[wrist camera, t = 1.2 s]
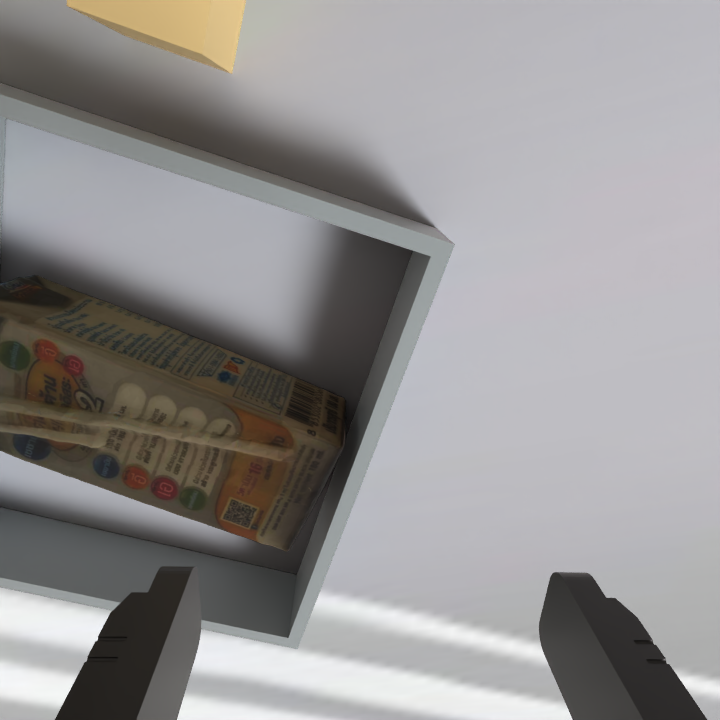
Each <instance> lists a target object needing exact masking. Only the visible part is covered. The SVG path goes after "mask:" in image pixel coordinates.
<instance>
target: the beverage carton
mask: <svg viewBox="0 0 720 720" xmlns="http://www.w3.org/2000/svg"><path fill="white" fill-rule="evenodd" d="M345 420H346V405H345V399H344V398H342V397H340V396H337V395H334V394H332V393H330V392H328V391H326V390H324V389H321V388H319V387H317V386H314V385H312V384H310V383H307V382H305V381H303V380H300V379H298V378H296V377H293V376H291V375H288V374H286V373H283V372H281V371H278V370H276V369H273V368H271V367H268V366H266V365H263V364H261V363H259V362H256V361H253V360H251V359H248V358H246V357H243V356H240V355H238V354H236V353H233V352H231V351H228V350H226V349H223V348H221V347H219V346H216V345H214V344H211V343H208V342H206V341H203V340H200V339H198V338H195V337H193V336H190V335H188V334H185V333H183V332H181V331H178V330H176V329H173V328H170V327H168V326H165V325H163V324H161V323H158V322H156V321H153V320H151V319H148V318H146V317H143V316H141V315H138V314H136V313H133V312H131V311H128V310H126V309H123V308H121V307H118V306H116V305H113V304H110V303H108V302H105V301H103V300H100V299H97V298H94V297H91V296H88V295H85V294H83V293H80V292H77V291H75V290H72V289H70V288H67V287H65V286H62V285H60V284H57V283H54V282H52V281H49V280H47V279H45V278H42V277H40V276H38V275H33V276H29V277H25V278H19V277H18V278H16V279H14V280H12V281H8V282H4V283H2V284H0V451H3V452H5V453H7V454H10V455H12V456H14V457H17V458H19V459H22V460H24V461H27V462H30V463H33V464H36V465H39V466H42V467H45V468H48V469H50V470H53V471H56V472H59V473H61V474H63V475H66V476H69V477H73V478H76V479H79V480H81V481H84V482H87V483H90V484H92V485H95V486H98V487H101V488H104V489H106V490H109V491H112V492H114V493H117V494H120V495H123V496H126V497H129V498H131V499H134V500H137V501H140V502H142V503H145V504H148V505H152V506H155V507H157V508H160V509H163V510H166V511H169V512H171V513H174V514H177V515H180V516H183V517H186V518H189V519H192V520H195V521H198V522H201V523H204V524H207V525H210V526H212V527H215V528H218V529H221V530H224V531H227V532H230V533H233V534H236V535H239V536H242V537H245V538H248V539H251V540H254V541H256V542H259V543H261V544H265V545H270V546H273V547H276V548H279V549H281V550H283V551H286V552H287V551H289V550H290V548H291V546H292V545H293V543H294V541H295V540H296V538H297V536H298V534H299V532H300V531H301V529H302V527H303V525H304V524H305V522H306V520H307V518H308V517H309V515H310V513H311V511H312V509H313V507H314V505H315V504H316V502H317V500H318V498H319V496H320V494H321V492H322V490H323V488H324V486H325V484H326V482H327V480H328V478H329V476H330V474H331V472H332V470H333V468H334V466H335V464H336V462H337V460H338V458H339V456H340V454H341V452H342V450H343V448H344V445H345V430H346V428H345Z"/></svg>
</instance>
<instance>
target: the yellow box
mask: <svg viewBox="0 0 720 720" xmlns="http://www.w3.org/2000/svg"><path fill="white" fill-rule="evenodd" d="M245 3H246V0H67V6H68V7H70V8H72V9H74V10H76V11H78V12H80V13H82V14H84V15H86V16H88V17H90V18H91V19H93V20H95V21H97V22H99V23H101V24H103V25H105V26H107V27H109V28H111V29H113V30H115V31H117V32H119V33H120V34H122V35H124V36H127V37H130V38H133V39H135V40H138V41H141V42H144V43H147V44H149V45H152V46H155V47H158V48H161V49H164V50H166V51H169V52H172V53H175V54H178V55H180V56H183V57H186V58H189V59H192V60H194V61H197V62H200V63H203V64H206V65H208V66H211V67H214V68H217V69H220V70H223V71H225V72H228V73H231V74H232V71H233V66H234V61H235V55H236V50H237V45H238V40H239V34H240V29H241V24H242V19H243V13H244V8H245Z"/></svg>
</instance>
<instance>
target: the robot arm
mask: <svg viewBox="0 0 720 720" xmlns="http://www.w3.org/2000/svg"><path fill="white" fill-rule="evenodd" d="M200 633H201V605H200V591H199V577H198V569H197V567H182V566H162V567H160V568H159V570H158V571H157V573H156V576H155V578H154V580H153V582H152V584H151V587H150V589H149V591H148V592H131V593H130V594H129V595H128V596H127V597H126V598H125V599H124V600H123V601H122V602H121V603H120V604H119V605H118V606H117V607H116V608H115V609H114V610H113V611H112V612H111V613H110V615H109V617H108V619H107V621H106V623H105V624H104V626H103V628H102V630H101V632H100V634H99V636H98V641H96V642H95V644H94V646H93V648H92V649H91V651H90V653H89V655H88V659H87V662H85V663H84V665H83V667H82V669H81V671H80V672H79V674H78V676H77V678H76V680H75V682H74V684H73V686H72V688H71V690H70V692H69V694H68V695H67V697H66V699H65V701H64V703H63V705H62V707H61V709H60V711H59V713H58V715H57V717H56V719H55V720H177V717H178V714H179V710H180V707H181V704H182V700H183V697H184V693H185V690H186V687H187V683H188V680H189V676H190V673H191V670H192V666H193V663H194V660H195V656H196V653H197V649H198V645H199V640H200ZM539 635H540V641H541V646H542V649H543V652H544V655H545V657H546V659H547V661H548V664H549V666H550V668H551V671H552V673H553V675H554V677H555V680H556V682H557V684H558V687H559V689H560V691H561V693H562V696H563V698H564V700H565V703H566V705H567V707H568V709H569V712H570V714H571V716H572V719H573V720H707V719H706V717H705V716H704V714H703V713H702V711H701V710H700V708H699V707H698V705H697V704H696V703H695V701H694V700H693V698H692V697H691V695H690V694H689V692H688V691H687V689H686V688H685V686H684V685H683V684H682V682H681V681H680V679H679V678H678V676H677V675H676V673H675V672H674V670H673V669H672V668H671V666H670V665H669V664H667V663H666V659H665V657H664V656H663V654H662V653H661V651H660V650H659V649H658V647H657V646H656V645H654V644H653V640H652V638H651V637H650V635H649V634H648V632H647V631H646V630H645V628H644V627H643V625H642V624H641V622H640V621H639V619H638V618H637V617H636V616H635V615H634V614H633V613H632V612H630V611H629V610H628V609H627V608H626V607H625V606H624V605H622V604H621V603H620V602H619V601H618V600H617V599H616V598H606V597H605V595H604V594H603V592H602V591H601V589H600V587H599V586H598V584H597V583H596V581H595V580H594V578H593V577H592V576H591V575H590V574H588V573H565V572H555V573H553V574H552V575H551V577H550V581H549V585H548V589H547V593H546V597H545V601H544V605H543V609H542V613H541V618H540V622H539Z"/></svg>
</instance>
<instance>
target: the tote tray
mask: <svg viewBox="0 0 720 720" xmlns="http://www.w3.org/2000/svg"><path fill="white" fill-rule="evenodd" d="M6 118H7V119H10V120H13V121H16V122H19V123H22V124H25V125H28V126H31V127H34V128H37V129H40V130H43V131H47V132H50V133H53V134H56V135H59V136H62V137H65V138H68V139H71V140H74V141H77V142H80V143H83V144H87V145H90V146H93V147H96V148H99V149H102V150H105V151H108V152H111V153H114V154H117V155H120V156H123V157H127V158H130V159H133V160H136V161H139V162H142V163H145V164H148V165H151V166H154V167H157V168H160V169H163V170H166V171H170V172H173V173H176V174H179V175H182V176H185V177H188V178H191V179H194V180H197V181H200V182H203V183H206V184H210V185H213V186H216V187H219V188H222V189H225V190H228V191H231V192H234V193H237V194H240V195H243V196H246V197H250V198H253V199H256V200H259V201H262V202H265V203H268V204H271V205H274V206H277V207H280V208H283V209H286V210H290V211H293V212H296V213H299V214H302V215H305V216H308V217H311V218H314V219H317V220H320V221H323V222H326V223H330V224H333V225H336V226H339V227H342V228H345V229H348V230H351V231H354V232H357V233H360V234H363V235H366V236H370V237H373V238H376V239H379V240H382V241H385V242H388V243H391V244H394V245H397V246H400V247H403V248H406V249H410V250H413V252H412V255H411V258H410V261H409V263H408V266H407V269H406V272H405V275H404V277H403V280H402V283H401V286H400V289H399V291H398V294H397V297H396V300H395V303H394V305H393V308H392V311H391V314H390V317H389V319H388V322H387V325H386V328H385V330H384V333H383V336H382V339H381V342H380V344H379V347H378V350H377V353H376V356H375V358H374V361H373V364H372V367H371V370H370V372H369V375H368V378H367V381H366V384H365V386H364V389H363V392H362V395H361V398H360V400H359V403H358V406H357V409H356V411H355V414H354V417H353V420H352V423H351V425H350V428H349V431H348V434H347V437H346V439H345V445H344V448H343V450H342V452H341V454H340V456H339V459H338V462H337V465H336V467H335V470H334V473H333V476H332V479H331V481H330V484H329V487H328V490H327V492H326V495H325V498H324V501H323V504H322V506H321V509H320V512H319V515H318V518H317V520H316V523H315V526H314V529H313V532H312V534H311V537H310V540H309V543H308V546H307V548H306V551H305V554H304V557H303V559H302V562H301V565H300V568H299V571H298V573H297V575H295V574H291V573H287V572H282V571H278V570H273V569H269V568H265V567H260V566H256V565H251V564H247V563H243V562H238V561H234V560H229V559H225V558H221V557H216V556H212V555H208V554H203V553H199V552H194V551H190V550H186V549H181V548H177V547H172V546H168V545H164V544H159V543H155V542H151V541H146V540H142V539H137V538H133V537H129V536H124V535H120V534H115V533H111V532H107V531H102V530H98V529H93V528H89V527H85V526H80V525H76V524H72V523H67V522H63V521H58V520H54V519H50V518H45V517H41V516H36V515H32V514H28V513H23V512H19V511H14V510H10V509H6V508H1V507H0V587H1V588H6V589H10V590H15V591H20V592H25V593H30V594H35V595H39V596H44V597H49V598H54V599H59V600H63V601H68V602H73V603H78V604H83V605H87V606H92V607H97V608H102V609H107V610H111V611H113V610H114V609H115V608H116V607H117V606H118V605H119V604H120V603H121V602H122V601H123V600H124V599H125V598H126V597H127V596H128V595H129V594H130V593H131V592H148V591H149V589H150V587H151V584H152V582H153V580H154V578H155V576H156V573H157V571H158V570H159V568H160V567H162V566H182V567H197V569H198V577H199V591H200V605H201V629H203V630H208V631H212V632H217V633H222V634H227V635H232V636H236V637H241V638H246V639H251V640H256V641H260V642H265V643H270V644H275V645H280V646H284V647H289V648H294V649H298V646H299V644H300V641H301V639H302V636H303V634H304V631H305V628H306V626H307V623H308V621H309V618H310V616H311V613H312V610H313V608H314V605H315V603H316V600H317V598H318V595H319V592H320V590H321V587H322V585H323V582H324V579H325V577H326V574H327V572H328V569H329V567H330V564H331V561H332V559H333V556H334V554H335V551H336V549H337V546H338V543H339V541H340V538H341V536H342V533H343V531H344V528H345V525H346V523H347V520H348V518H349V515H350V513H351V510H352V507H353V505H354V502H355V500H356V497H357V495H358V492H359V489H360V487H361V484H362V482H363V479H364V477H365V474H366V471H367V469H368V466H369V464H370V461H371V459H372V456H373V453H374V451H375V448H376V446H377V443H378V441H379V438H380V435H381V433H382V430H383V428H384V425H385V423H386V420H387V417H388V415H389V412H390V410H391V407H392V405H393V402H394V399H395V397H396V394H397V392H398V389H399V387H400V384H401V381H402V379H403V376H404V374H405V371H406V369H407V366H408V363H409V361H410V358H411V356H412V353H413V351H414V348H415V345H416V343H417V340H418V338H419V335H420V332H421V330H422V327H423V325H424V322H425V320H426V317H427V314H428V312H429V309H430V307H431V304H432V302H433V299H434V296H435V294H436V291H437V289H438V286H439V284H440V281H441V278H442V276H443V273H444V271H445V268H446V266H447V263H448V260H449V258H450V255H451V253H452V250H453V248H454V245H455V244H454V243H453V242H451V241H450V240H449V239H448V238H447V237H446V236H445V235H444V234H443V233H441V232H440V231H439V230H438V229H437V228H434V227H431V226H428V225H425V224H422V223H419V222H416V221H413V220H410V219H407V218H404V217H401V216H398V215H395V214H392V213H389V212H386V211H383V210H380V209H377V208H374V207H371V206H368V205H365V204H362V203H359V202H356V201H353V200H350V199H347V198H344V197H341V196H338V195H335V194H332V193H329V192H326V191H323V190H320V189H317V188H314V187H311V186H308V185H305V184H302V183H299V182H296V181H293V180H290V179H287V178H284V177H281V176H278V175H275V174H272V173H269V172H266V171H263V170H260V169H257V168H254V167H251V166H248V165H245V164H242V163H239V162H236V161H233V160H230V159H227V158H224V157H221V156H218V155H215V154H212V153H209V152H206V151H203V150H200V149H197V148H194V147H191V146H188V145H185V144H182V143H179V142H176V141H173V140H170V139H167V138H164V137H161V136H158V135H155V134H152V133H149V132H146V131H143V130H140V129H137V128H134V127H131V126H128V125H125V124H122V123H119V122H116V121H113V120H110V119H107V118H104V117H101V116H98V115H95V114H92V113H89V112H86V111H83V110H80V109H77V108H74V107H71V106H68V105H65V104H62V103H59V102H56V101H53V100H50V99H47V98H44V97H41V96H38V95H35V94H32V93H29V92H26V91H23V90H20V89H17V88H14V87H11V86H8V85H5V84H2V83H0V262H1V235H2V207H3V180H4V152H5V125H6Z"/></svg>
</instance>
